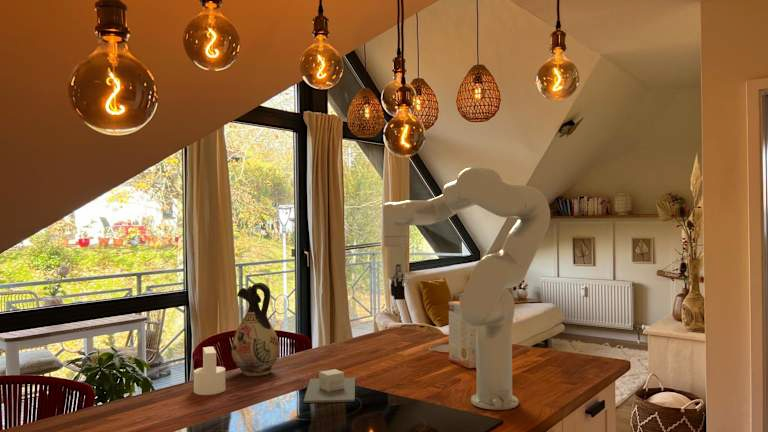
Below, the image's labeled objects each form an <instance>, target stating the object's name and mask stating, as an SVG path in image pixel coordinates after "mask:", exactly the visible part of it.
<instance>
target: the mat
mask: <svg viewBox="0 0 768 432" xmlns="http://www.w3.org/2000/svg"><path fill="white" fill-rule="evenodd" d="M355 390H356V377H344V389H340V390H335V391H330V392H327V391H325V390H323V389H321V388H319V378H310V379H309V381H308V384H307V389H306V391H305V395H304V398H303V403H304V404H306V403H307V404H308V403H311V404H312V403H316V404H317V403H353V402H354V403H355V399H356V391H355Z"/></svg>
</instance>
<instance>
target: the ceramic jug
mask: <svg viewBox="0 0 768 432" xmlns="http://www.w3.org/2000/svg"><path fill="white" fill-rule="evenodd" d="M258 290H261V291H262V292H263V300H262V298H261V297H260V295H259V294H258ZM236 297H238V298H240V299H243V300H244V301H246V302H247V303H248V310H247V311H246V312H245V313H246V314H245V315H244V317H243V318H242V319H241V322H240V323H239V325H238V327H237V328H236V331H235V333H234V336H233V338H232V339H233V340H232V346H231V357H232V360H233V362H234V363H235V365H236V366H237V368H239V369H240V371H241V373H242V375H243V376H246V377H260V376H264V375H265V376H266V375H269V374H270V373H271V372H272V371H273V370H272V367H273V366H274V364H275V363H276V362H277V360H278V358H279V355H280V342H279V338H278V335H277V332H276V331H275V329H274V327H273V325H272V324H271V323H270V321H269V318H268V316H267V315H268V310H269V306H270V301H271V290H270V288H269V286H268V285H267V284H265V283H263V282H257V283H256V282H255V283H254V284H253V285H252V286H251V285H249V286H248V287H247V288H245V287H242V288H241V289H240V290H239V291H238V293H237V294H236ZM259 303H262V306H260V304H259ZM260 307H261V308H260Z"/></svg>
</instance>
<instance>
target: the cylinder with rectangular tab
mask: <svg viewBox="0 0 768 432" xmlns="http://www.w3.org/2000/svg"><path fill="white" fill-rule="evenodd" d="M225 391H226V368H225V367H224V366H217V352H216V349H215V347H214V346H205V347H202V367H198V368H196V369H194V370H193V393H194V394H196V395H200V396H211V395H217V394H221V393H222V392H225Z"/></svg>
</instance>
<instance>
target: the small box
mask: <svg viewBox="0 0 768 432" xmlns="http://www.w3.org/2000/svg"><path fill="white" fill-rule="evenodd" d="M344 378H345V372H344V371H341V370H339V369H335V368H334V369H328V370H321V371H319V372H318V379H319V388H321V389H323V390H325V391H327V392H330V391H335V390H340V389H344Z"/></svg>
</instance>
